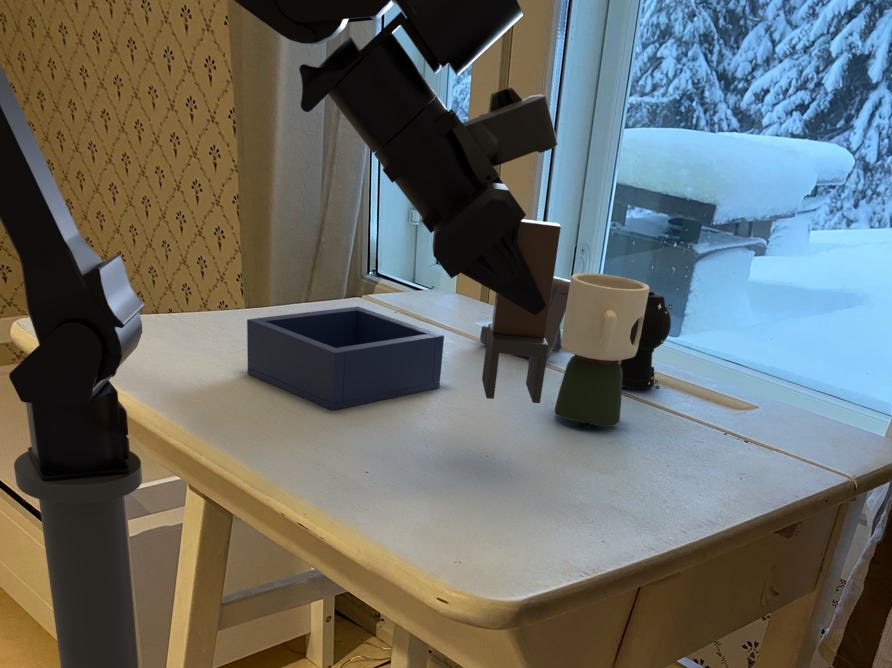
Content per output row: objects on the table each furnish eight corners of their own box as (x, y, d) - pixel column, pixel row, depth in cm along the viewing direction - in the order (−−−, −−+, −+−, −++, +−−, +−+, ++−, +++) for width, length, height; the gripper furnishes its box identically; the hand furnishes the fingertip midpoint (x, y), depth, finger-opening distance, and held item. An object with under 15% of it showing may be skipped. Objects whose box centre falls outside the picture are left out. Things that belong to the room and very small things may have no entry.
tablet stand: (477, 344, 113) (486, 270, 109) (515, 336, 119) (524, 265, 115) (539, 363, 109) (551, 287, 105) (575, 354, 115) (587, 281, 111)
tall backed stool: (486, 398, 74) (507, 223, 67) (481, 379, 78) (501, 213, 72) (540, 403, 74) (566, 230, 68) (532, 384, 78) (556, 220, 72)
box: (332, 410, 87) (334, 352, 84) (247, 373, 93) (246, 319, 91) (439, 387, 97) (444, 335, 94) (355, 356, 103) (357, 306, 101)
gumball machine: (672, 393, 105) (693, 298, 100) (632, 398, 102) (652, 300, 96) (631, 375, 109) (649, 283, 104) (591, 379, 106) (608, 284, 101)
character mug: (628, 445, 88) (658, 298, 81) (551, 436, 88) (575, 288, 81) (616, 408, 97) (641, 274, 91) (546, 400, 97) (567, 265, 91)
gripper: (510, 37, 56) (655, 259, 63) (487, 41, 72) (605, 218, 79) (366, 170, 59) (519, 368, 66) (375, 145, 75) (497, 306, 82)
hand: (539, 307), depth 73 cm, fingers closed on tall backed stool
